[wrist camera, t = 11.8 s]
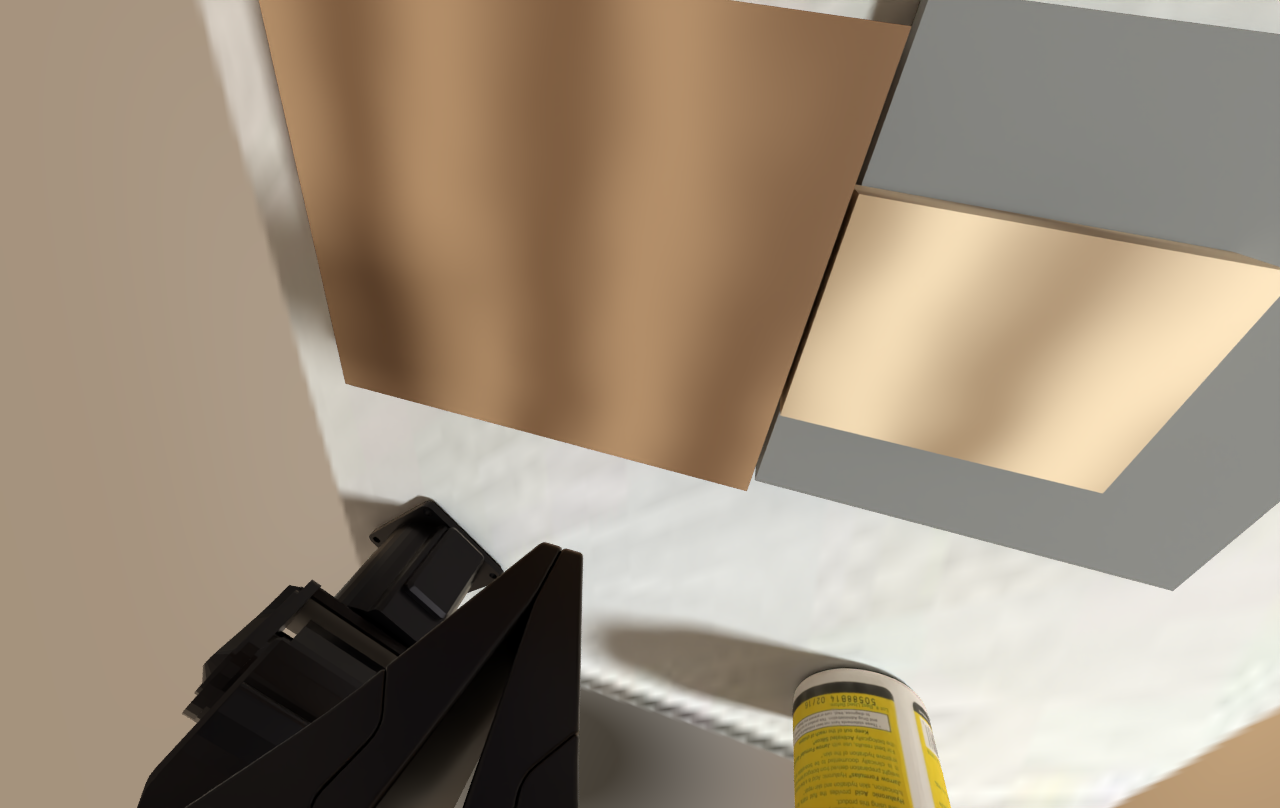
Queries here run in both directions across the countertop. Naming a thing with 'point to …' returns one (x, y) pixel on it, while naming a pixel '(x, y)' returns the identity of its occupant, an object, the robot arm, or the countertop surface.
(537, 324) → the walnut board
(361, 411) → the countertop surface
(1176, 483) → the slate mat
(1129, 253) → the birch tile
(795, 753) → the supplement bottle
